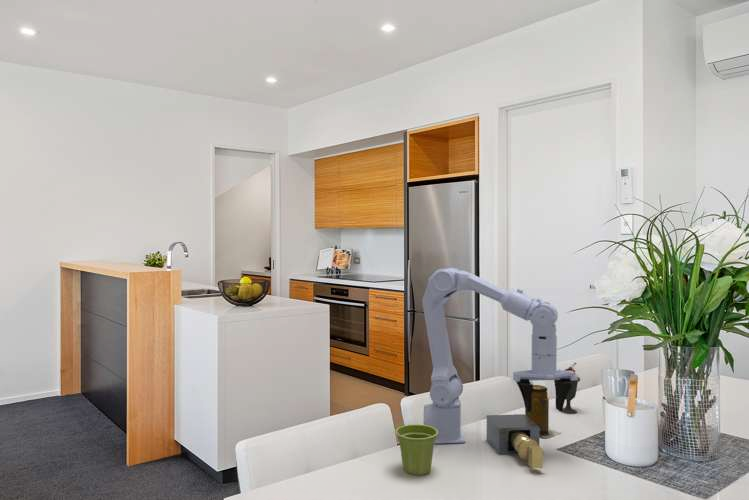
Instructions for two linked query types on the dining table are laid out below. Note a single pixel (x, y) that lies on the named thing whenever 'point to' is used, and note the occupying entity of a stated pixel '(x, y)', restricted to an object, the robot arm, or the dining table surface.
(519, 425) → the housing
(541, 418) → the condiment
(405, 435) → the plant pot
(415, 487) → the dining table surface
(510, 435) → the gold stepped cylinder
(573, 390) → the sundae
